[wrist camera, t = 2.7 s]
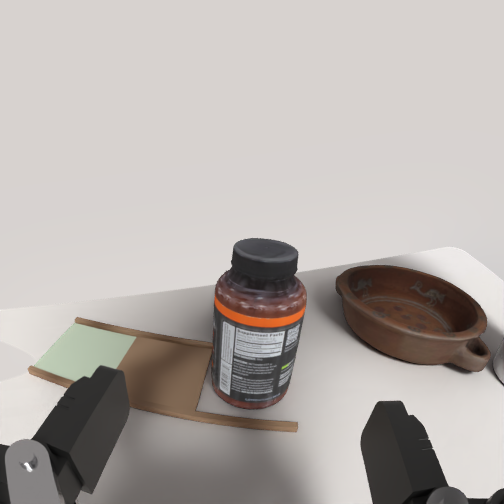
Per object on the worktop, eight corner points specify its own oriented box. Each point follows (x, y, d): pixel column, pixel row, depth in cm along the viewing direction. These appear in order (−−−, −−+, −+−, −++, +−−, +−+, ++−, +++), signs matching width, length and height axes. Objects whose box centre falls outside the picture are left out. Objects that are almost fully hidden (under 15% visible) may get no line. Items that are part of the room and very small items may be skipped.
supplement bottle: (223, 356, 27) (233, 228, 23) (291, 370, 26) (316, 241, 22) (199, 401, 21) (203, 253, 17) (281, 420, 20) (313, 272, 16)
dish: (373, 282, 46) (381, 251, 45) (499, 346, 29) (514, 311, 28) (286, 308, 37) (293, 268, 35) (450, 418, 20) (477, 372, 18)
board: (292, 356, 27) (292, 352, 27) (296, 431, 19) (298, 427, 19) (77, 321, 28) (77, 316, 28) (29, 373, 20) (27, 368, 19)
